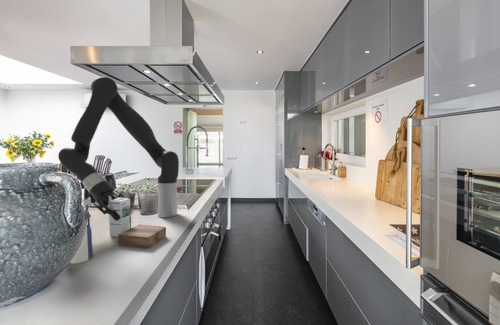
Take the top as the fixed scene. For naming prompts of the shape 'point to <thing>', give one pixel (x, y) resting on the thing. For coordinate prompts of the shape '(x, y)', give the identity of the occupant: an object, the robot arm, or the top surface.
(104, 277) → the top surface
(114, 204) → the syrup box
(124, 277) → the top surface
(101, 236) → the top surface
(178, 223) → the top surface
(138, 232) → the walnut block
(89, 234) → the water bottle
